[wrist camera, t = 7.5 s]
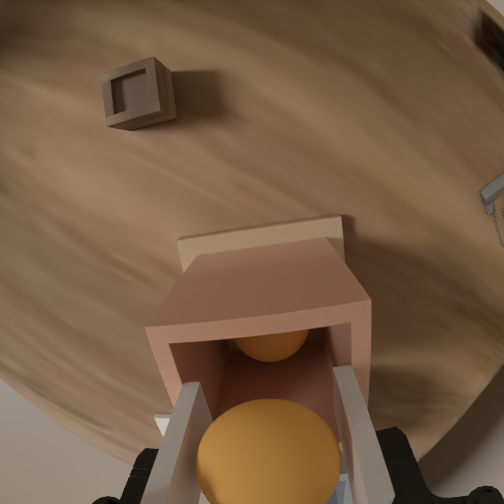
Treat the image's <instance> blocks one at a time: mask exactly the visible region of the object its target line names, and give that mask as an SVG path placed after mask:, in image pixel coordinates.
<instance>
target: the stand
mask: <svg viewBox="0 0 504 504" xmlns="http://www.w3.org/2000/svg"><path fill="white" fill-rule="evenodd" d="M102 87H103V98H104V107H105V116H106V124H107V127H112V128H117V129H122V130H128V131H132V130H135V129H139V128H142V127H146V126H150V125H153V124H157V123H161V122H165V121H169V120H173V119H177V111H176V105H175V98H174V91H173V83H172V76H171V71H170V70H169V69H168V68H166V67H165V66H164V65H163V64H162V63H161V62H160V61H158V60H157V59H156V58H155V57H151V58H147V59H144V60H141V61H138V62H135V63H132V64H129V65H126V66H123V67H120V68H117V69H115V70H112V71H109V72H107V73H104V74H102Z"/></svg>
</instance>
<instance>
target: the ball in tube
mask: <svg viewBox="0 0 504 504" xmlns="http://www.w3.org/2000/svg"><path fill="white" fill-rule="evenodd" d="M308 332H309V329H305V330H298V331H291V332H283V333H276V334H267V335H259V336H250V337H241V338H233V339H234V342H235V343H236V345H237V346H238V347H239V349H240V350H241V351H242V352H244V353H245V354H246V355H248V356H249V357H251V358H253V359H256V360H259V361H264V362H275V361H280V360H283V359H286V358H288V357H290V356H292V355H293V354H294V353H296V352H297V351H298V350H299V349H300V347H301V346H302V345H303V343H304V342H305V340H306V338H307V335H308Z"/></svg>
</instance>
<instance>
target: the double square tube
mask: <svg viewBox="0 0 504 504" xmlns="http://www.w3.org/2000/svg"><path fill="white" fill-rule="evenodd" d="M177 246H178V250H179V255H180V259H181V264H182V268H183V272H184V273H183V275H182V276H181V277H180V279H179V280H178V281H177V283H176V284H175V285H174V287H173V288H172V289H171V291H170V292H169V294H168V295H167V296H166V298H165V299H164V301H163V302H162V303H161V305H160V306H159V307H158V309H157V310H156V312H155V313H154V314H153V316H152V317H151V319H150V320H149V321H148V323H147V324H146V326H145V330H146V333H147V336H148V339H149V342H150V345H151V348H152V351H153V354H154V356H155V359H156V362H157V365H158V368H159V370H160V373H161V376H162V378H163V381H164V384H165V386H166V389H167V391H168V394H169V396H170V399H171V401H172V404H173V406H175V404H176V401H177V398H178V395H179V393H180V390H181V387H182V385H183V383H184V382H200V383H201V387H202V390H203V393H204V396H205V399H206V402H207V405H208V408H209V411H210V414H211V417H212V419H213V422H214V421H215V420H216V419H217V418H218V417H220V416H221V415H222V414H223V413H225V412H226V411H228V410H229V409H231V408H233V407H235V406H237V405H240V404H242V403H245V402H248V401H253V400H259V399H282V400H287V401H292V402H295V403H298V404H300V405H303V406H305V407H307V408H309V409H310V410H312V411H314V412H315V413H316V414H318V415H319V416H320V417H321V418H322V419H323V420H324V421H325V422H326V423H327V424H328V425H329V427H330V428H331V429H332V431H333V433H334V434H335V436H336V438H337V441H338V444H339V447H340V450H341V459H342V466H341V474H340V478H339V482H338V484H337V486H336V488H335V490H334V492H333V494H332V495H331V497H330V498H329V500H328V501H327V502H326V503H325V504H353V500H352V494H351V489H350V484H349V479H348V474H347V469H346V465H345V460H344V455H343V450H342V446H341V441H340V436H339V432H338V427H337V423H336V418H335V414H334V377H333V368H334V367H339V366H345V365H351V367H352V368H353V371H354V374H355V377H356V379H357V382H358V385H359V388H360V390H361V393H362V396H363V399H364V401H365V404H366V407H367V410H368V398H369V383H370V363H371V298H370V297H369V295H368V294H367V293H366V291H365V290H364V288H363V287H362V286H361V284H360V283H359V281H358V280H357V279H356V277H355V276H354V275H353V273H352V272H351V270H350V269H349V268H348V266H347V265H346V264H345V254H344V241H343V230H342V220H341V216H340V215H338V214H336V215H328V216H321V217H314V218H306V219H299V220H292V221H285V222H278V223H271V224H264V225H257V226H250V227H243V228H237V229H230V230H224V231H217V232H211V233H204V234H198V235H191V236H185V237H180V238H179V239H178V240H177ZM305 329H309V332H308V335H307V338H306V340H305V342H304V343H303V345H302V346H301V347H300V349H299V350H298V351H297V352H296V353H294V354H293V355H292V356H290V357H288V358H286V359H283V360H280V361H275V362H264V361H259V360H256V359H253V358H251V357H249V356H248V355H246V354H245V353H244V352H242V351H241V350H240V349H239V347H238V346H237V345H236V343H235V342H234V339H233V338H241V337H250V336H259V335H267V334H276V333H283V332H291V331H298V330H305Z"/></svg>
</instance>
